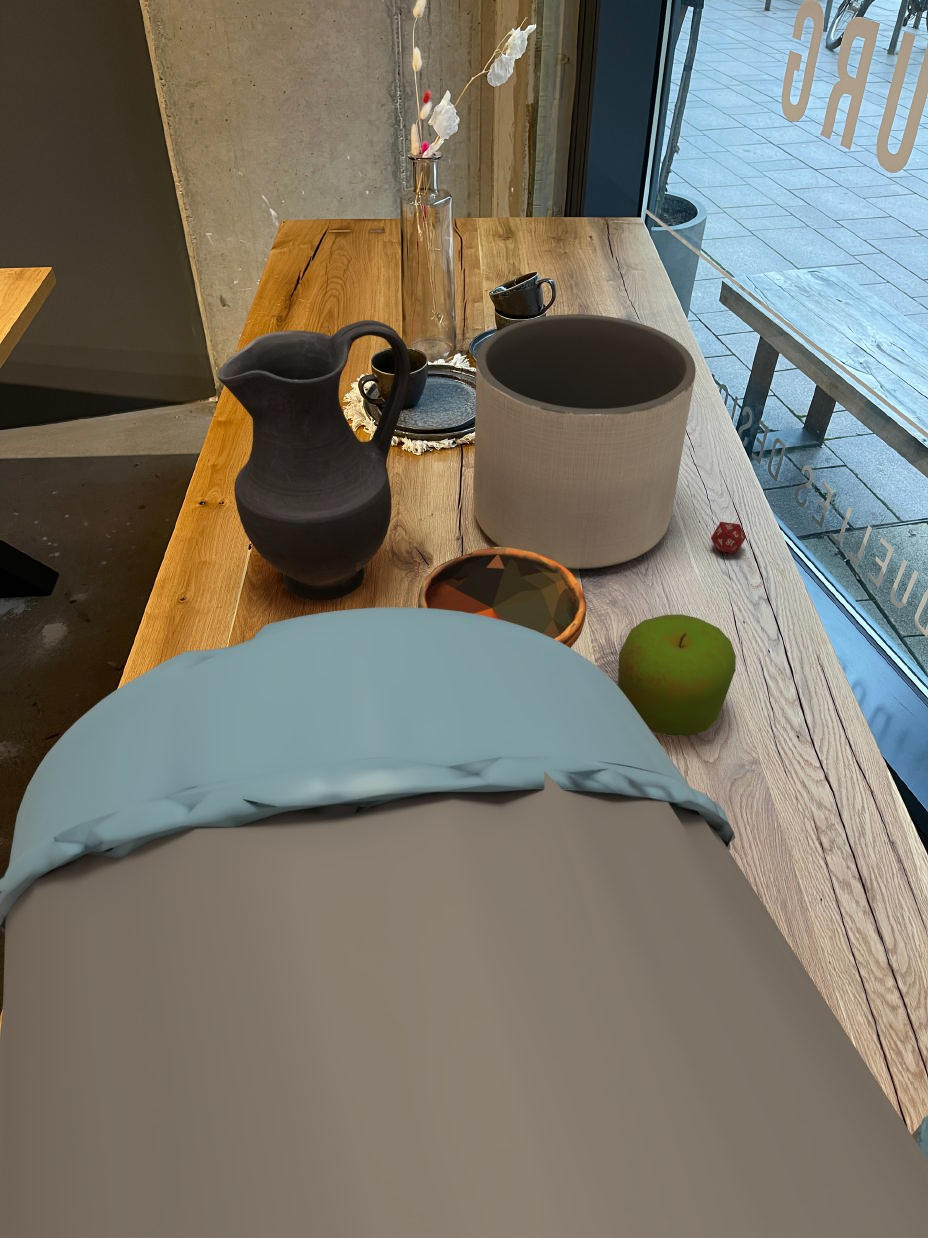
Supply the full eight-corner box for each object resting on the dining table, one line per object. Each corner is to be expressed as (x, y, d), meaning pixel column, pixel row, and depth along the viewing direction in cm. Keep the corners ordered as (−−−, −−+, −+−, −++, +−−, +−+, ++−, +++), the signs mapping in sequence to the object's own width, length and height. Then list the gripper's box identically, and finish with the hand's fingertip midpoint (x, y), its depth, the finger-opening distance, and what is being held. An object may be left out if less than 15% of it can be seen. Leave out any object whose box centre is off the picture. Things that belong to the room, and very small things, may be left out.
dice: (703, 541, 115) (709, 515, 112) (738, 540, 115) (745, 514, 113) (711, 560, 112) (717, 534, 110) (747, 559, 113) (754, 533, 110)
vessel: (581, 802, 85) (603, 647, 72) (429, 814, 84) (422, 659, 71) (556, 691, 96) (571, 538, 83) (420, 700, 95) (413, 546, 82)
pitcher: (234, 556, 113) (185, 323, 93) (388, 511, 120) (374, 286, 100) (280, 641, 101) (235, 397, 81) (447, 586, 109) (444, 349, 89)
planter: (624, 453, 131) (644, 302, 116) (702, 559, 112) (738, 396, 98) (452, 478, 126) (450, 324, 111) (505, 593, 108) (511, 427, 93)
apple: (710, 671, 98) (730, 594, 91) (731, 749, 90) (755, 671, 83) (607, 670, 98) (618, 593, 91) (618, 748, 90) (632, 670, 83)
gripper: (677, 1236, 50) (383, 957, 62) (794, 1058, 57) (509, 838, 69) (701, 1192, 45) (376, 897, 57) (826, 1003, 52) (513, 776, 64)
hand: (449, 865), depth 63 cm, fingers closed
